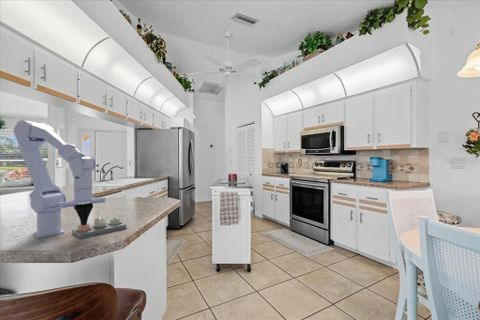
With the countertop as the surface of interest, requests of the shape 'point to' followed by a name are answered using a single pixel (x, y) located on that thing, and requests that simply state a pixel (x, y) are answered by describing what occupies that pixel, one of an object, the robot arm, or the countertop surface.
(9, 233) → the countertop surface
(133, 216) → the countertop surface
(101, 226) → the cream button
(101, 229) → the button board
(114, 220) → the sage button
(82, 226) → the terracotta button
